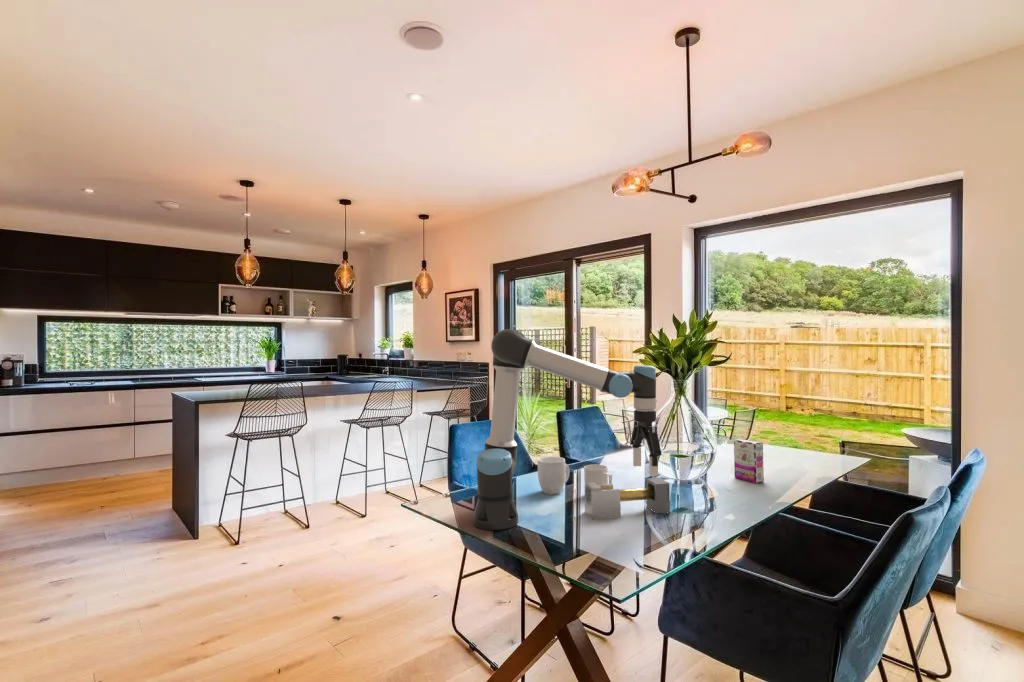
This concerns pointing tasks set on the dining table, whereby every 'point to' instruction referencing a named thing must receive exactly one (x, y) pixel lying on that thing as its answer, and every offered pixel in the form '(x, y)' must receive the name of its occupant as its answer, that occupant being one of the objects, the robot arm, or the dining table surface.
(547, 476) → the mug
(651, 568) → the dining table surface
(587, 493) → the grey tube holder
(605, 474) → the mug
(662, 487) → the socket
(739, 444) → the candy bar box
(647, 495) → the tube
